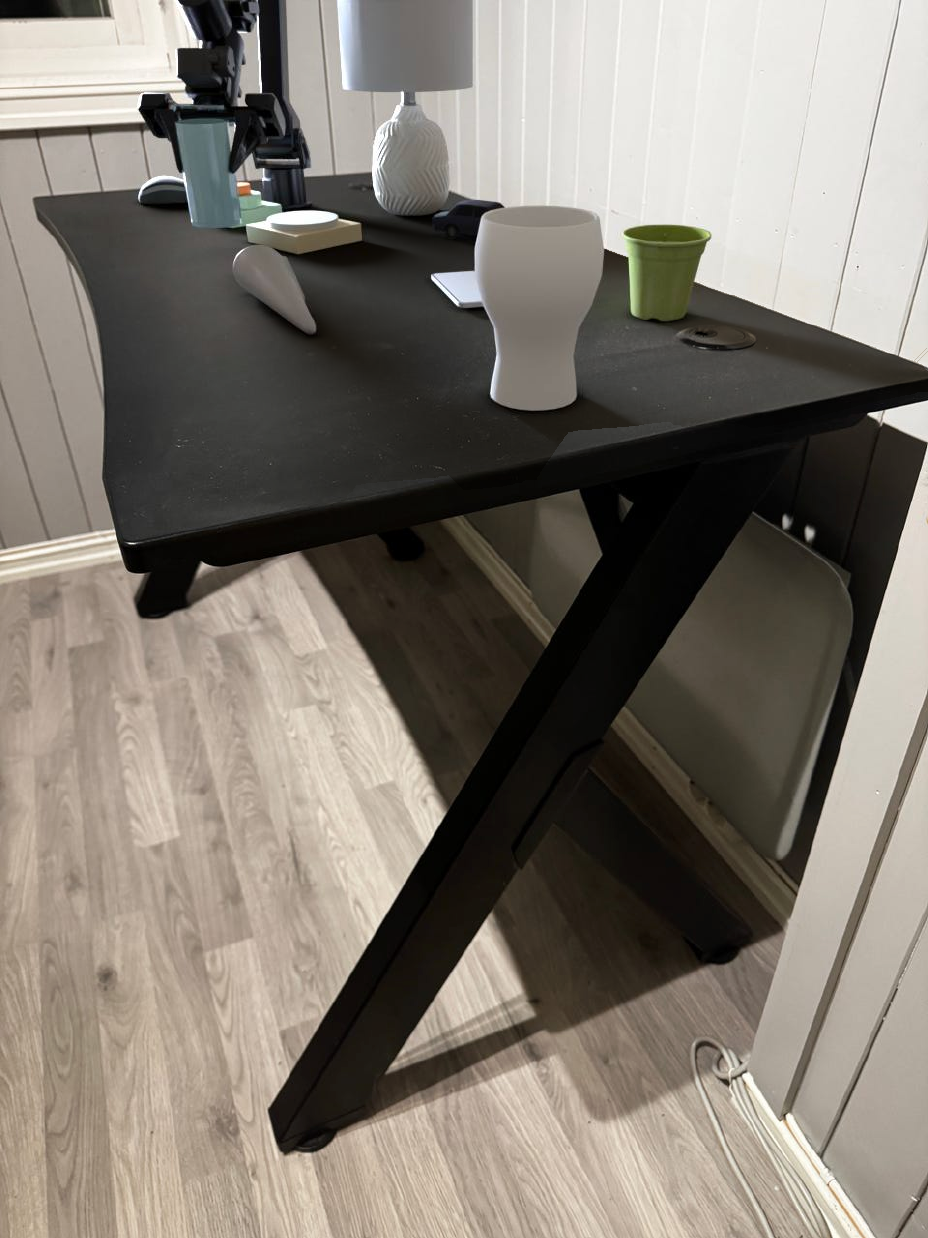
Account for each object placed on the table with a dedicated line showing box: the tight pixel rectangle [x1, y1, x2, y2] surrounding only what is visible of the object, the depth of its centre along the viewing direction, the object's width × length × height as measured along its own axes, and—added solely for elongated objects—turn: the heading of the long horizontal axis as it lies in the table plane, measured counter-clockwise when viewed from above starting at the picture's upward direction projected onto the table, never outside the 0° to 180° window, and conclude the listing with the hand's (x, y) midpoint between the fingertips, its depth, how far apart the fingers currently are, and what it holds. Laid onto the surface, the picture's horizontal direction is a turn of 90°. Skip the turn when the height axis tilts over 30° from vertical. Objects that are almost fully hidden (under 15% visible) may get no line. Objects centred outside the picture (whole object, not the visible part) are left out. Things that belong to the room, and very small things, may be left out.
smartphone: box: [430, 269, 484, 309], centre depth 110 cm, size 7×1×15 cm
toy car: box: [431, 199, 506, 240], centre depth 134 cm, size 6×15×5 cm, turn 61°
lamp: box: [336, 0, 474, 217], centre depth 142 cm, size 20×20×37 cm
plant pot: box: [621, 223, 713, 322], centre depth 99 cm, size 9×9×9 cm
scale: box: [245, 210, 363, 255], centre depth 133 cm, size 12×12×3 cm
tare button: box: [237, 182, 252, 196], centre depth 145 cm, size 4×4×2 cm
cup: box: [474, 204, 605, 412], centre depth 77 cm, size 11×11×15 cm
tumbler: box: [175, 118, 242, 229], centre depth 122 cm, size 7×7×12 cm
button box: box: [228, 189, 283, 229], centre depth 146 cm, size 10×8×4 cm
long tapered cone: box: [232, 244, 317, 335], centre depth 102 cm, size 6×6×19 cm
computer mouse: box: [138, 175, 188, 205], centre depth 161 cm, size 7×12×4 cm, turn 102°
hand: (205, 171), depth 121 cm, fingers closed on tumbler, 7 cm apart
